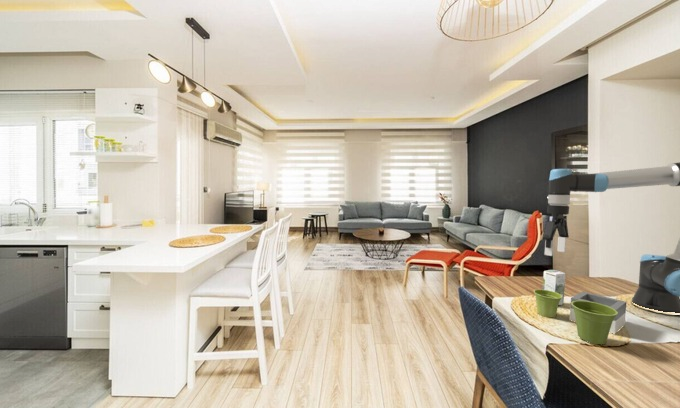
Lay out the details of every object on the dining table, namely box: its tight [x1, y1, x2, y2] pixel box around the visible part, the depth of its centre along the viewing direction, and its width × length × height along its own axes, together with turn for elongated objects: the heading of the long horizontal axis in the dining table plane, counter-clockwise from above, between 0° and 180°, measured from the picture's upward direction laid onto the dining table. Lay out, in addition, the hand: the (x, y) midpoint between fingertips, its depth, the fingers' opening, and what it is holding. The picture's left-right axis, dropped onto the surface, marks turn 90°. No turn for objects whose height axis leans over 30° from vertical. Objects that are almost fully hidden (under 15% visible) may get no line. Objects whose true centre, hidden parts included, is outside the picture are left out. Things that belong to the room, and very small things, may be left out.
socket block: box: [569, 291, 627, 335], centre depth 111 cm, size 13×13×9 cm
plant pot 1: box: [533, 289, 562, 318], centre depth 118 cm, size 9×9×9 cm
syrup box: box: [541, 269, 567, 306], centre depth 129 cm, size 6×6×14 cm
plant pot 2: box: [570, 301, 618, 346], centre depth 99 cm, size 12×12×11 cm
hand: (554, 253), depth 128 cm, fingers open, 13 cm apart
